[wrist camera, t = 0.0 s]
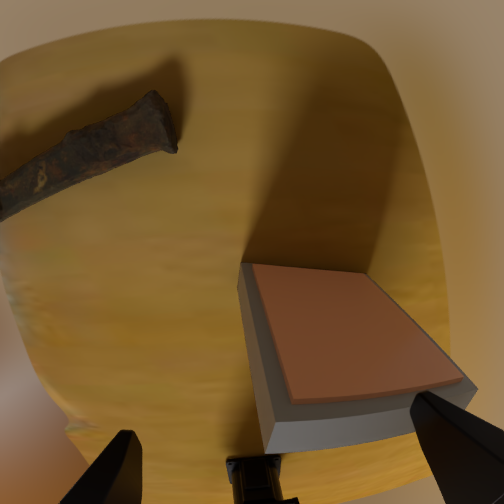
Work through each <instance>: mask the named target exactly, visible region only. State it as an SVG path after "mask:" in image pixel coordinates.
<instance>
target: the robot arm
mask: <svg viewBox="0 0 504 504" xmlns="http://www.w3.org/2000/svg"><path fill="white" fill-rule="evenodd" d="M410 417H411V419H412V422H413V425H414V428H415V431H416V434H417V437H418V440H419V443H420V446H421V448H422V451H423V453H424V455H425V457H426V460H427V462H428V464H429V466H430V468H431V471H432V473H433V475H434V477H435V480H436V482H437V484H438V486H439V489H440V491H441V493H442V496H443V498H444V501H445V503H446V504H504V431H503V430H502V429H500V428H498V427H496V426H494V425H492V424H490V423H488V422H486V421H484V420H483V419H481V418H479V417H477V416H475V415H473V414H471V413H469V412H467V411H465V410H464V409H462V408H460V407H458V406H456V405H454V404H452V403H451V402H449V401H447V400H445V399H443V398H441V397H440V396H438V395H436V394H434V393H432V392H430V391H428V390H425V391H422V392H419V393H417V394H416V395H415V398H414V400H413V402H412V405H411V407H410ZM280 464H281V457H280V455H272V456H263V457H254V458H244V459H230V460H227V461H226V467H227V472H228V477H229V481H230V483H231V484H232V488H233V498H234V504H299V501H298V498H297V497H295V498H292V499H287V500H283V495H282V490H281V486H280V481H279V475H280ZM141 499H142V446H141V443H140V441H139V439H138V437H137V435H136V433H135V432H134V431H133V430H120V431H119V432H118V433H117V435H116V436H115V437H114V438H113V439H112V441H111V442H110V443H109V444H108V445H107V447H106V448H105V449H104V450H103V451H102V453H101V454H100V455H99V456H98V457H97V458H96V460H95V461H94V462H93V463H92V464H91V466H90V467H89V468H88V469H87V470H86V472H85V473H84V474H83V475H82V476H81V477H80V479H79V480H78V481H77V482H76V484H74V486H73V487H72V488H71V489H70V491H69V492H68V493H67V494H66V495H65V496H64V497H63V499H62V500H61V501H60V504H141Z"/></svg>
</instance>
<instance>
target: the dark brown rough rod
mask: <svg viewBox="0 0 504 504" xmlns="http://www.w3.org/2000/svg"><path fill="white" fill-rule="evenodd" d="M160 150H163V151H165V152H168V153H171V154H174V153H177V150H178V146H177V138H176V134H175V129H174V125H173V121H172V118H171V114H170V111H169V109H168V105H167V103H165V102H164V100H163V98H162V97H161V96H160V95H159V94H158V92H157V91H156V90H151V91H150V92H148V93H147V94H146V95H145V96H144V97H143V98H142V99H140V100H139V101H137V102H136V104H135V105H133V106H131V107H130V108H129V109H127V110H125V111H123V112H121V113H118V114H116V115H114V116H111V117H109V118H107V119H106V120H103V121H101V122H98V123H96V124H92V125H88V126H85V127H84V128H83V129H80V130H71V131H70V132H68V133H67V134H66V136H65V138H64V139H63V140H62V141H61V142H60V143H59V144H57V145H56V146H54V147H52V148H50V149H49V150H47V151H45V152H43V153H42V154H40V155H38V156H36V157H35V158H33V159H32V160H31V161H29V162H28V163H26V164H25V165H23V166H21V167H20V168H19V169H17V170H16V171H14V172H13V173H11V174H10V175H8V176H7V177H5V178H4V179H3V180H1V181H0V222H2V221H3V220H5V219H7V218H9V217H11V216H12V215H14V214H16V213H18V212H20V211H21V210H23V209H25V208H27V207H29V206H31V205H33V204H35V203H37V202H39V201H41V200H43V199H45V198H47V197H49V196H51V195H53V194H55V193H58V192H60V191H62V190H64V189H66V188H68V187H70V186H72V185H75V184H77V183H80V182H82V181H84V180H86V179H89V178H92V177H94V176H97V175H100V174H103V173H105V172H107V171H110V170H112V169H113V168H116V167H119V166H121V165H123V164H126V163H129V162H131V161H133V160H135V159H138V158H140V157H142V156H145V155H148V154H150V153H154V152H157V151H160Z"/></svg>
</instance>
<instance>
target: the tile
mask: <svg viewBox="0 0 504 504" xmlns="http://www.w3.org/2000/svg"><path fill="white" fill-rule="evenodd" d="M237 290H238V296H239V303H240V309H241V316H242V322H243V328H244V335H245V341H246V347H247V353H248V359H249V365H250V371H251V377H252V383H253V389H254V395H255V401H256V406H257V412H258V418H259V424H260V429H261V435H262V440H263V446H264V451H265V454H273V453H290V452H303V451H313V450H322V449H330V448H338V447H344V446H351V445H357V444H362V443H368V442H373V441H378V440H383V439H387V438H392V437H396V436H400V435H404V434H408V433H412V432H416V431H415V428H414V425H413V422H412V419H411V417H410V407H411V405H412V402H413V400H414V398H415V395H416V394H417V393H419V392H422V391H425V390H428V391H430V392H432V393H434V394H436V395H438V396H440V397H441V398H443V399H445V400H447V401H449V402H451V403H452V404H454V405H456V406H458V407H460V408H462V409H464V410H465V408H466V407H467V406H468V404H469V402H470V401H471V399H472V398H473V396H474V395H475V393H476V392H477V390H478V388H477V387H476V386H475V385H474V384H473V382H472V381H471V380H470V379H469V378H468V377H467V376H466V375H465V373H464V372H463V371H462V370H461V369H460V368H459V367H458V366H457V365H456V364H455V362H453V360H452V359H451V358H450V357H449V356H448V355H447V354H446V353H445V352H444V351H443V350H442V349H441V348H440V347H439V345H438V344H437V343H436V342H435V341H434V340H433V339H432V338H431V337H430V336H429V335H428V334H427V333H426V332H425V331H424V330H423V329H422V328H421V327H420V326H419V325H418V324H417V323H416V322H415V321H414V320H413V319H412V318H411V317H410V316H409V315H408V314H407V313H406V312H405V311H404V310H403V309H402V308H401V307H400V306H399V305H398V304H397V303H396V302H395V301H394V300H393V299H392V298H391V297H390V296H389V295H388V294H387V293H386V292H385V291H384V290H383V289H382V288H381V287H380V286H379V285H377V284H376V283H375V282H374V281H373V280H372V279H371V278H370V277H369V276H368V275H367V274H365V273H353V272H341V271H330V270H318V269H307V268H296V267H285V266H274V265H264V264H253V263H242V262H241V264H240V271H239V278H238V285H237Z"/></svg>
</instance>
